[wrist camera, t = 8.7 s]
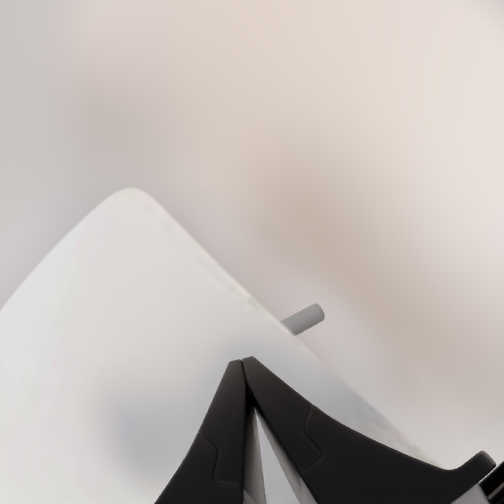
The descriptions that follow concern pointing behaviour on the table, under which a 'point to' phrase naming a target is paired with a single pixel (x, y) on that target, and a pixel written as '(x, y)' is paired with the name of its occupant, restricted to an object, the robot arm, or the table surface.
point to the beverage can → (304, 319)
